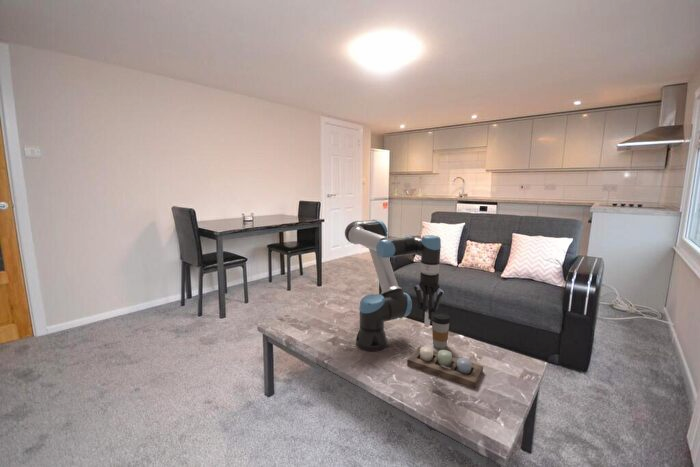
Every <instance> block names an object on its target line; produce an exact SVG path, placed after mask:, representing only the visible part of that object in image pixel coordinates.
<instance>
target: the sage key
mask: <svg viewBox="0 0 700 467" xmlns="http://www.w3.org/2000/svg"><path fill="white" fill-rule="evenodd" d="M437 352H438V365H440V366H442V367H448V366H449V365H451V362H452V357H453V354H452V352H451V351H449V350H446V349H441V350H438V351H437Z"/></svg>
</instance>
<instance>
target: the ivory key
mask: <svg viewBox="0 0 700 467" xmlns="http://www.w3.org/2000/svg"><path fill="white" fill-rule="evenodd" d="M420 347H421V348H420V359H421V360H424V361H427V362H430V363H431V362H432V361H433V351H434V349H433V348H432V347H429V346H420Z"/></svg>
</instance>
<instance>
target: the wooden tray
mask: <svg viewBox="0 0 700 467" xmlns="http://www.w3.org/2000/svg"><path fill="white" fill-rule="evenodd" d="M421 347H422V346H418V347H417V348H416V349H415V350H414V352H413V353H412V354H410V356H409V357H408V359H407V360H406V361H407V366H410V367H413V368H415V369H418V370H421V371H425V372H426V373H430V374H433V375H436V376H439V377H442V378H444V379H446V380H449V381H453V382H456V383H458V384H460V385H464V386H467V387H469V388H472V389H476V387H477V384H478V383H479V380H480V378H481V376H482V374H483V370H484V365H480V364H476V363H473V362H472V365H471V373H470V374H468V375H466V374H463V373H460V372H458V371H457V360H458V359H459V358H457V357H454V356H452V362H451V365H449V366H450V368H448V367H446V366H443V365H440V364H439V363H438V352H439V351H435V350H433V360H432V361H431V362H427V361H424V360H421V359H420V348H421Z"/></svg>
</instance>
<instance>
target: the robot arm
mask: <svg viewBox="0 0 700 467" xmlns="http://www.w3.org/2000/svg"><path fill="white" fill-rule="evenodd" d="M388 234H389V233H388V228H387V225H386V223H385V222H383V221H382V220H380V219H371V220H355V221H352V222H350V223H349V224H347V226H346V228H345V229H344V236H345V238H346V241H348V242H349V243H351V244H353V245H361V246H364V247H365V248H367V249H368V250H369V253H370V257H371V260H372V263H373V267H374V270H375V272H376V275H377V279H378V282H379V286H380V289H381V293H380V294H377V293H372V294H367V295H365V296H363V297H362V298H361V299H360V302H359V307H358V308H359V329H358V331H357V334H356V338H355V345H356V346H357V348H359V349H361V350H363V351H367V352H377V351H381V350H384V349H386V347H387V346H388V337H387V335H386V332H385V329H384V328H385V322H389V321H393V320H398V319H402V318H406V317H407V316H410V314H411V312H412V308H413V303H412V302H413V300H412V298H411V296H410V295H409V294H408V293H407V292H404V290H403V288H402V287H400V286H399V284H398V281H397V279H396V275H395V272H394V270H393V266H392V264H391V258H395V257H402V256H403V257H404V256H410V255H411V256H412V255H416V256H419V257H420V276H419V278H420V280H419V281H420V282H419V283H418V284H416V285H415V286H413V289H414V291H415V294H416V299H417V300H416V301H417V305H418V309H419V310H422V318H423V319H424V321H423V322H424V325H423V326H424V327H427V328H429V326H430V325H431V321H432V317H433V315H434V313H437V311H438V309H439V305H440V303H441V299H442V297H443V295H444V294H445V290H443V289H441V287H440V285H439V283H440V282H439V281H440V280H439V278H440V263H441V262H440V259H441V250H442V249H441V248H442V246H441V242H442V241H441V237H440V236H438V235H433V234H430V235H429V234H426V235H425V234H424V235H422V237H420V236H416V235H407V236H405V237H401V238H390V237H388ZM436 293H437V296H436V298H435V294H436ZM434 299H435V301H434Z"/></svg>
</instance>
